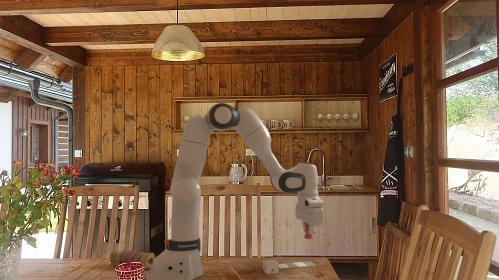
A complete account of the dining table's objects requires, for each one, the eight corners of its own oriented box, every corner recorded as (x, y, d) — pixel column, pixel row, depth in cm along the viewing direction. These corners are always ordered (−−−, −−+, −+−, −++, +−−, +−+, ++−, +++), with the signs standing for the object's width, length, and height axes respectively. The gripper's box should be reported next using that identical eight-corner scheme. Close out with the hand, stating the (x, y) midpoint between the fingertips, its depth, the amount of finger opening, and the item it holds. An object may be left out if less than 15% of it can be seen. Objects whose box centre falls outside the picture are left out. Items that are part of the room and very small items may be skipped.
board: (280, 271, 156) (280, 268, 156) (275, 267, 161) (275, 264, 161) (316, 267, 160) (316, 265, 160) (310, 263, 166) (310, 261, 166)
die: (262, 273, 153) (266, 277, 148) (262, 260, 154) (266, 264, 148) (275, 272, 155) (279, 276, 150) (275, 259, 155) (279, 263, 150)
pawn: (306, 239, 161) (306, 222, 161) (302, 237, 164) (302, 220, 164) (314, 238, 162) (314, 221, 162) (310, 236, 165) (310, 220, 166)
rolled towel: (160, 262, 164) (123, 258, 172) (155, 248, 162) (118, 244, 170) (149, 275, 158) (112, 269, 166) (144, 260, 155) (106, 255, 163)
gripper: (291, 198, 173) (292, 228, 172) (311, 203, 153) (312, 238, 152) (304, 197, 174) (305, 228, 174) (325, 202, 155) (326, 237, 154)
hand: (308, 232), depth 163 cm, fingers closed on pawn, 3 cm apart
